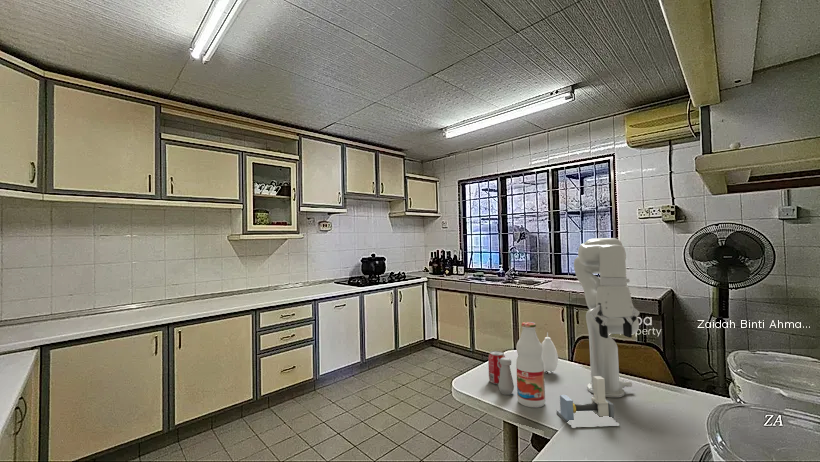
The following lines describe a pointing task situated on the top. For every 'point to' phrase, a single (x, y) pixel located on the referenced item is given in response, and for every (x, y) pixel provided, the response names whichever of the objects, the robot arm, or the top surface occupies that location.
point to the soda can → (495, 366)
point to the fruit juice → (530, 368)
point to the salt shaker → (505, 377)
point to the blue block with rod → (578, 408)
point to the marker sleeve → (600, 396)
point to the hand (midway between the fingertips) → (615, 336)
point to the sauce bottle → (549, 355)
